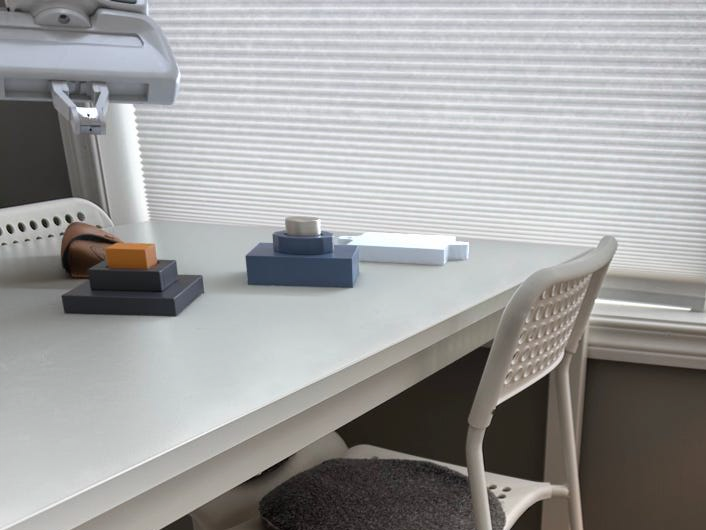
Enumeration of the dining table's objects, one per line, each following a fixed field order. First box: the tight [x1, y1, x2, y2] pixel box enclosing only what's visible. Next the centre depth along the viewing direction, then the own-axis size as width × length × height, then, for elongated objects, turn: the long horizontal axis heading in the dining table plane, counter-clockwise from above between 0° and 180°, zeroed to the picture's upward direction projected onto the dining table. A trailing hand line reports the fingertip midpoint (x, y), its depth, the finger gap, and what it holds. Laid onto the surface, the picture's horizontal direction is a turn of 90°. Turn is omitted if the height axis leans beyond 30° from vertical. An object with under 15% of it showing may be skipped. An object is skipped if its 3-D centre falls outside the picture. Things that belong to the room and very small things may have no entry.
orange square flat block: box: [105, 242, 158, 269], centre depth 89 cm, size 4×4×2 cm
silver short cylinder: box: [284, 216, 321, 237], centre depth 110 cm, size 4×4×2 cm
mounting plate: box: [337, 231, 470, 266], centre depth 130 cm, size 18×13×2 cm
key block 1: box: [61, 259, 205, 317], centre depth 91 cm, size 10×12×5 cm
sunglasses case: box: [60, 221, 126, 279], centre depth 115 cm, size 18×7×7 cm
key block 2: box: [244, 229, 360, 289], centre depth 112 cm, size 12×10×5 cm
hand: (90, 130), depth 92 cm, fingers closed
